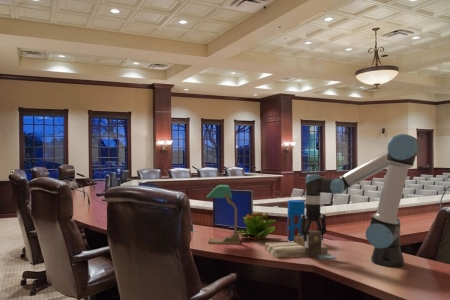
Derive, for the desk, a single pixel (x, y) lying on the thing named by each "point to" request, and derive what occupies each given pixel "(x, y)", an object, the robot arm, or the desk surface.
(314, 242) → the marking gauge
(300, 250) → the log raft
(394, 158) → the robot arm
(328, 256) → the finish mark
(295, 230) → the blue slotted block
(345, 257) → the desk surface
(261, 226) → the potted flower
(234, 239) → the banker's lamp
